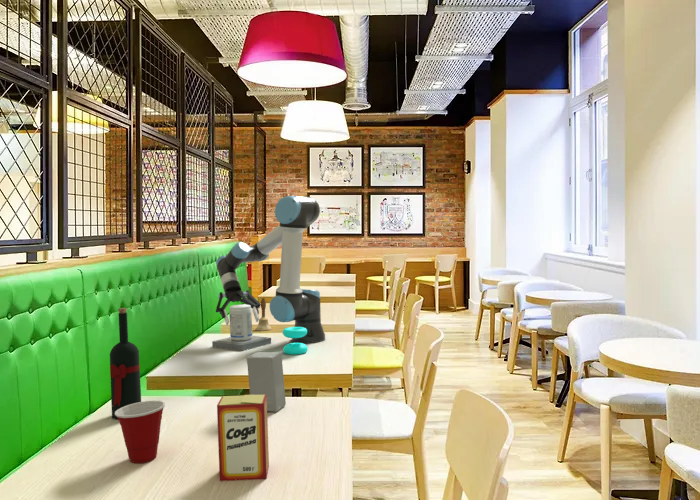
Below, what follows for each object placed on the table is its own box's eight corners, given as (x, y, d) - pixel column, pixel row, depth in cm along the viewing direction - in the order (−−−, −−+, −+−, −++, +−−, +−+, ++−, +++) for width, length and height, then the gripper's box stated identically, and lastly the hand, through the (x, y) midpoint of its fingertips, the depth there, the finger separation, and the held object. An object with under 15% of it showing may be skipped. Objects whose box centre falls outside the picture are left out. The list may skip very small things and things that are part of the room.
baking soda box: (219, 481, 122) (217, 403, 121) (224, 468, 129) (221, 394, 128) (266, 478, 123) (264, 401, 122) (268, 466, 129) (266, 392, 128)
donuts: (311, 326, 247) (300, 330, 238) (311, 350, 248) (300, 355, 239) (289, 325, 251) (278, 329, 242) (290, 349, 252) (278, 354, 242)
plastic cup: (124, 451, 140) (122, 400, 140) (171, 448, 141) (169, 398, 141) (109, 469, 129) (107, 414, 129) (161, 466, 130) (158, 412, 130)
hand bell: (263, 327, 309) (262, 296, 308) (275, 328, 304) (274, 297, 303) (251, 330, 302) (250, 298, 301) (263, 331, 297) (262, 299, 296)
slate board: (271, 343, 266) (271, 337, 266) (242, 351, 251) (242, 344, 251) (241, 339, 276) (241, 334, 276) (212, 347, 261) (212, 340, 261)
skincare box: (286, 406, 172) (284, 351, 171) (275, 413, 165) (273, 356, 165) (259, 404, 175) (258, 350, 174) (247, 411, 168) (246, 355, 167)
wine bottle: (102, 422, 161) (97, 312, 160) (119, 411, 171) (115, 306, 170) (131, 422, 161) (126, 311, 160) (146, 410, 171) (142, 306, 170)
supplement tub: (245, 336, 270) (244, 303, 269) (256, 338, 263) (255, 305, 262) (226, 339, 264) (225, 305, 263) (236, 342, 256) (235, 307, 256)
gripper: (255, 288, 282) (267, 324, 269) (202, 292, 270) (213, 329, 257) (258, 277, 277) (271, 313, 264) (205, 281, 265) (216, 319, 252)
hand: (243, 321), depth 261 cm, fingers open, 13 cm apart
